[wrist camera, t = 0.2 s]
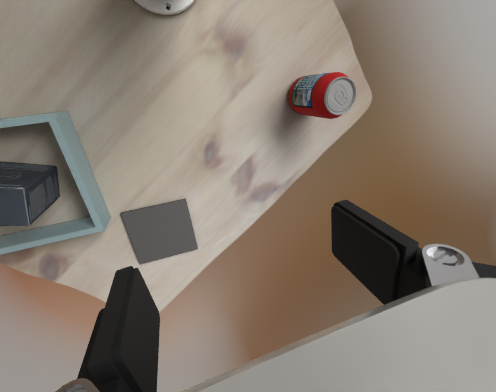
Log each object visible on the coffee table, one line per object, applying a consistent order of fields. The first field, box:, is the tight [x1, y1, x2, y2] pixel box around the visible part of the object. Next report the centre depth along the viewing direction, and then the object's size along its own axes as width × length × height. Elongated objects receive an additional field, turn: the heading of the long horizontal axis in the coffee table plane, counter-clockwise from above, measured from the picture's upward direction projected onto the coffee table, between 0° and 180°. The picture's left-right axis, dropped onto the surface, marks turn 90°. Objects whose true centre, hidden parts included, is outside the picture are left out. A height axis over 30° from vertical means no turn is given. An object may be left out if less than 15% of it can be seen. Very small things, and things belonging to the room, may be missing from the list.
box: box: [0, 162, 60, 226], centre depth 34 cm, size 8×6×11 cm
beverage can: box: [289, 72, 356, 119], centre depth 41 cm, size 7×7×12 cm
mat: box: [121, 199, 198, 264], centre depth 49 cm, size 12×12×1 cm
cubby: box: [0, 111, 111, 255], centre depth 37 cm, size 19×17×5 cm
